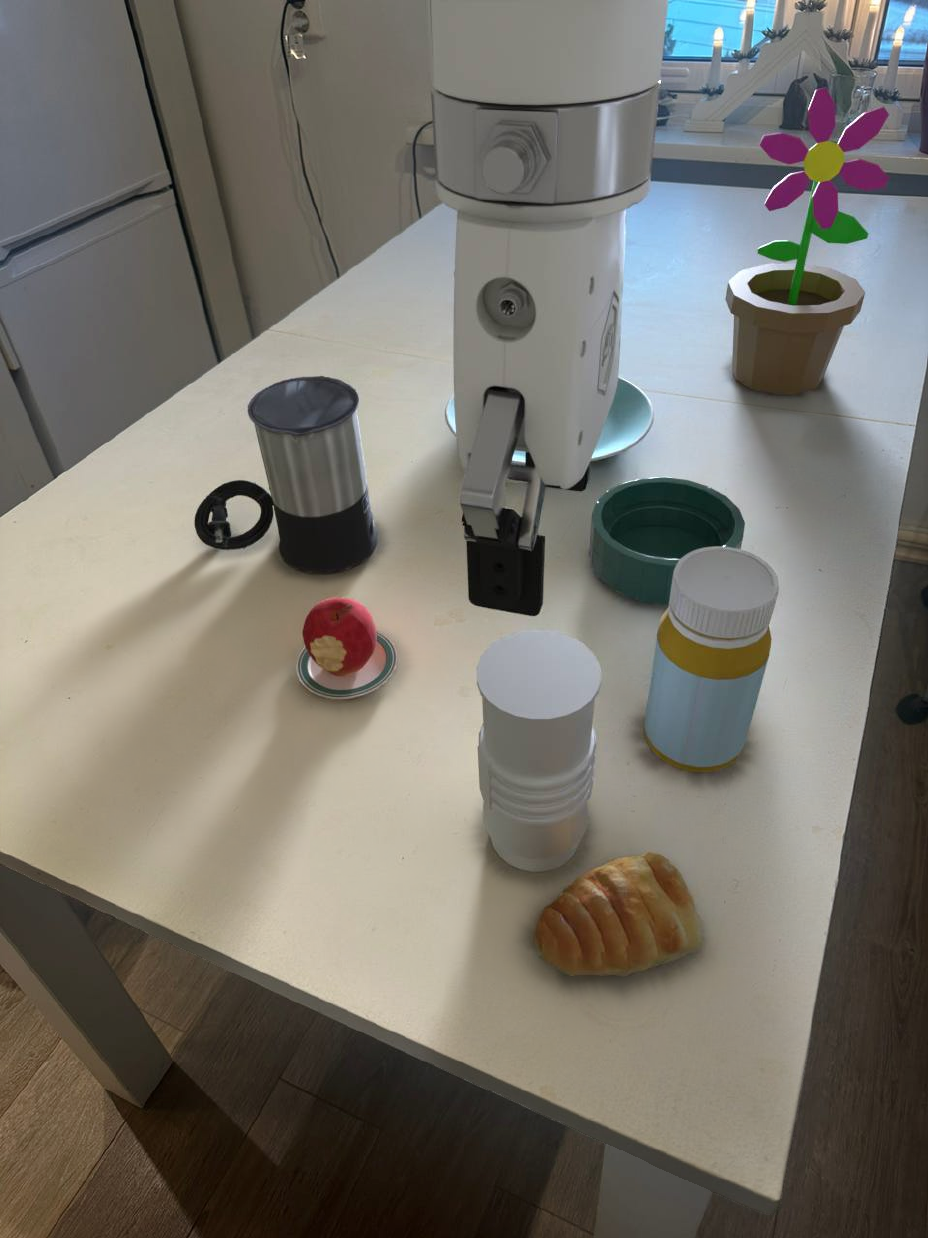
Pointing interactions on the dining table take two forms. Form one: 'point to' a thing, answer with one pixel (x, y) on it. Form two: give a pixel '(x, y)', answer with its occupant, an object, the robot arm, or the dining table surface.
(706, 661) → the bottle
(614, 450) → the plate
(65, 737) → the dining table surface
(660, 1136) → the dining table surface
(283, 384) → the milk frother
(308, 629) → the apple
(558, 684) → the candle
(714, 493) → the bowl
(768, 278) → the flowerpot
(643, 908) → the pastry
